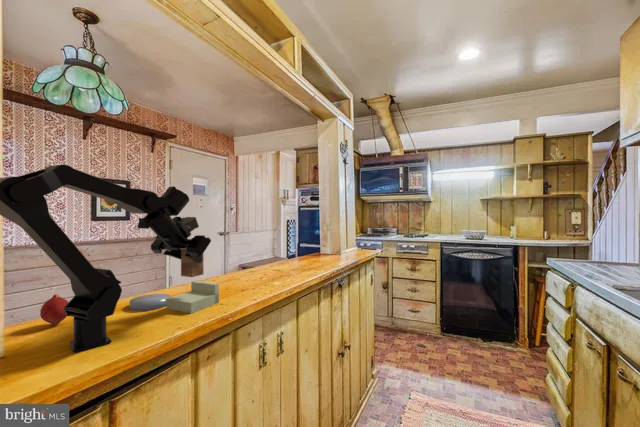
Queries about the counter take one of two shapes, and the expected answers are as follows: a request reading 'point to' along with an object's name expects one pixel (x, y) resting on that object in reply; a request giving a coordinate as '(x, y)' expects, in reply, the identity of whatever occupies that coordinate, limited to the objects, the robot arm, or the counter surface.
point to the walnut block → (190, 265)
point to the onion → (54, 310)
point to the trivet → (148, 302)
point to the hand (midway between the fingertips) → (195, 261)
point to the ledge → (195, 297)
